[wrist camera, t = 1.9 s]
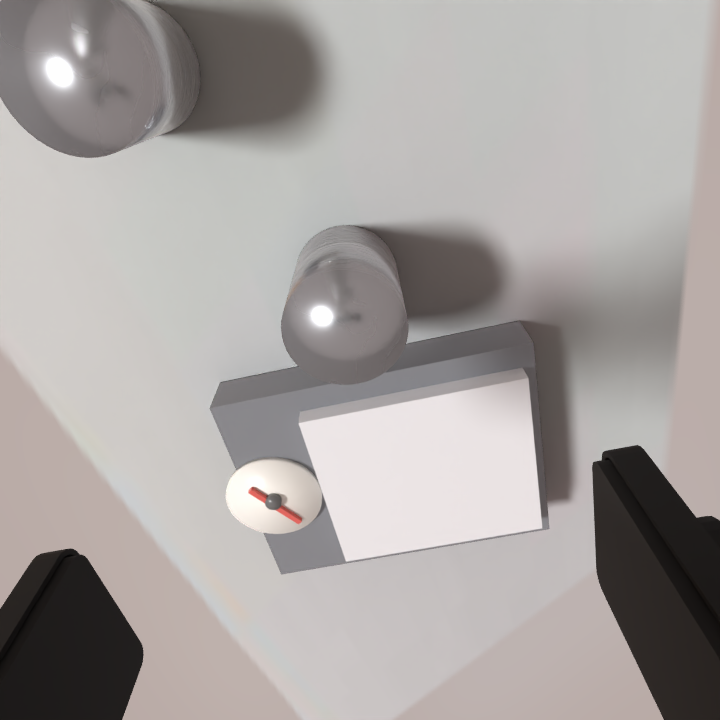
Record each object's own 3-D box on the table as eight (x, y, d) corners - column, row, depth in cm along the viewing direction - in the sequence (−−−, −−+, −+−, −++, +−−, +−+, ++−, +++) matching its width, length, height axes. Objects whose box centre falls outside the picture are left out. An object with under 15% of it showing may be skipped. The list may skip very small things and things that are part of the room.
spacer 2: (283, 238, 21) (264, 285, 17) (386, 214, 21) (395, 256, 16) (311, 330, 23) (301, 395, 18) (405, 310, 22) (418, 371, 18)
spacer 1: (54, 16, 17) (-47, 2, 13) (173, -18, 17) (110, -44, 13) (109, 147, 19) (37, 173, 15) (217, 119, 19) (176, 137, 15)
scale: (200, 386, 24) (183, 423, 22) (519, 320, 23) (539, 352, 20) (269, 545, 29) (261, 591, 26) (536, 498, 27) (554, 542, 25)
